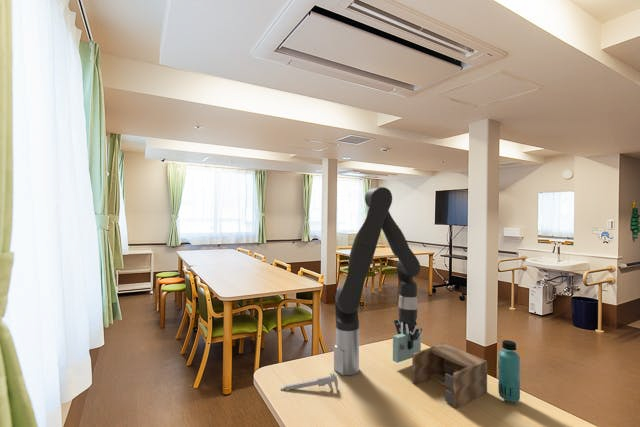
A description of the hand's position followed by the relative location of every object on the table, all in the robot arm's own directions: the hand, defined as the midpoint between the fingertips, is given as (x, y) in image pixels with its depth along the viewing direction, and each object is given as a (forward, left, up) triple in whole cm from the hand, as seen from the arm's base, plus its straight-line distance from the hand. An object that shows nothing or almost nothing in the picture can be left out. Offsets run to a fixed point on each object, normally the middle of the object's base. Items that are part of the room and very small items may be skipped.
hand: (407, 347), depth 133 cm
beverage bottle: (+9, -36, -7) cm, 38 cm away
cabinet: (-1, -20, -7) cm, 22 cm away
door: (0, 0, -4) cm, 4 cm away
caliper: (-44, +6, -8) cm, 45 cm away
